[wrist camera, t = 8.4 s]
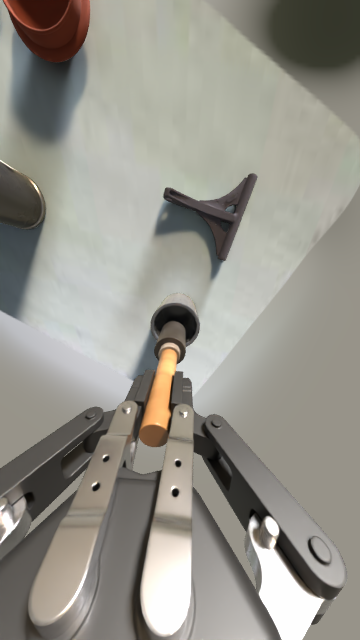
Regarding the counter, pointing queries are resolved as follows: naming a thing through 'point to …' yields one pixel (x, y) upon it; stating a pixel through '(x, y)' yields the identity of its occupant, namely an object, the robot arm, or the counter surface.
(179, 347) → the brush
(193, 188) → the counter surface
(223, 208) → the bracket
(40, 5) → the pottery
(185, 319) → the grey metal cup
